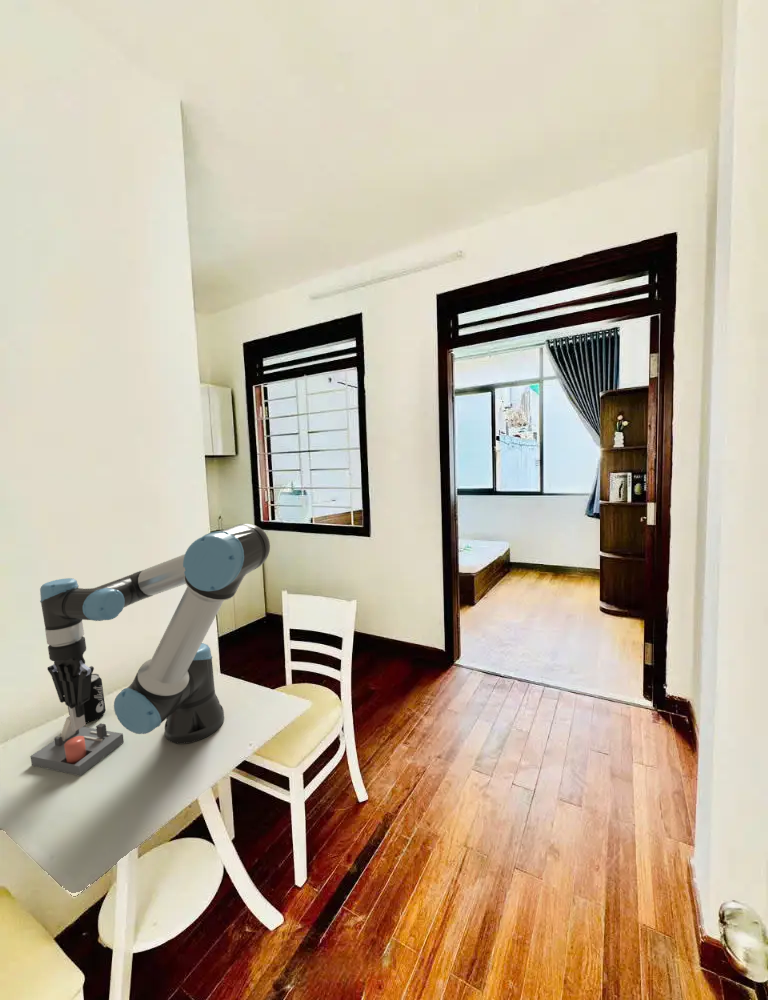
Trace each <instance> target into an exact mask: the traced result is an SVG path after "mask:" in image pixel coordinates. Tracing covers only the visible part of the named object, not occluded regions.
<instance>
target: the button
mask: <svg viewBox="0 0 768 1000" xmlns="http://www.w3.org/2000/svg"><path fill="white" fill-rule="evenodd" d="M64 747H65V754H66V761H67V763H69V764H76V763H77V762H79V761H80V760H81V759H83V758H84V757H85V756H87V754H86V746H85V739H84V736H77V737H74V738H71V739H69V740H68V741H67V742H66V743H65V744H64Z"/></svg>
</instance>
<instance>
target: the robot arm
mask: <svg viewBox="0 0 768 1000" xmlns="http://www.w3.org/2000/svg"><path fill="white" fill-rule="evenodd" d="M270 542H271V541H270V539H269V537H268V534H267V533H266V532H265V531H264V530H263V529H262V528H261V527H259V526H257V525H255V524H251V523H240V524H236V525H234V526H229V527H227V528H224V529H221V530H218V531H217V530H215V531H211V532H208V533H206V534H204V535H203V536H201V537H199V538H197V539H195V540H194V541H193V542H192V543H191V544H190V545H189V546H188V547H187V549H186V551H185V553H184V554H182V555H179V556H176V557H174V558H171V559H168V560H166V561H163V562H161V563H159V564H155V565H153V566H149V567H148V568H145V569H142V570H139V571H136V572H132V574H129V575H127V576H123V577H121V578H118V579H116V580H113V581H110V582H108V583H104V584H102V585H99V586H97V587H92V588H81V587H79V584H78V581H77V580H76V579H74V578H71V577H67V578H66V577H65V578H59V579H55V580H51V581H47V582H45V583H44V584H42V585H41V586H40V588H39V591H40V593H39V595H40V600H39V602H40V604H41V611H42V616H43V622H44V627H45V628H44V630H45V631H44V632H45V639H46V644H47V645H48V646H47V650H48V658H49V660H50V661H52V662H53V664H52V665H50V666H48V667H47V671H48V673H49V674H50V676H51V679H52V682H53V684H54V687H55V691H56V694H57V697H58V700H59V702H60V703H64V704H65V705H66V706H67V709H68V715H69V716H70V720H71V726H72V731H77V730H78V729H80V728H81V727H85V726H86V724H87V723H85V716H84V714H85V711H84V702H86V701H88V700H89V699H90V691H91V676H92V674H94V670H95V668H94V666H92V665H91V666H88V665H86V660H85V658H84V654H85V652H86V651H87V644H86V637H85V636H84V635H85V630H84V624H83V620H84V621H93V622H94V621H95V622H102V621H111V620H114V619H115V618H118V616H119V615H120V614H121V612H122V611H123V610H124V608H126V607H128V606H130V605H133V604H135V603H137V602H139V601H142V600H145V599H149V598H151V597H153V596H155V595H158V594H161V593H164V592H167V591H169V590H172V589H175V588H178V587H180V586H184V585H185V586H186V589H185V590H184V592H183V595H182V597H181V598H180V601H179V602H178V605H177V607H176V609H175V611H174V613H173V615H172V617H171V618H170V621H169V622H168V625H167V627H166V629H165V631H164V633H163V635H162V637H161V639H160V641H159V643H158V645H157V646H156V649H155V651H154V654H153V656H152V658H150V659H148V660H146V661H145V662H143V663H142V664H141V665H140V667H139V668H138V671H137V672H136V675H135V676H134V679H133V680H132V683H130V684H129V686H128V687H125V688H123V689H121V691H120V692H119V693H118V694H117V695H116V697H115V698H114V701H113V710H114V714H115V716H116V717H117V720H118V721H119V723H120V724H121V725H122V726H123V727H124V728H125V729H126V730H128V731H129V732H131V733H134V734H135V735H137V734H138V735H142V734H143V735H145V734H149V733H150V732H153V731H154V730H155V729H156V728H158V727H160V726H161V724H162V723H163V722H164V721H165V723H164V735H165V738H166V740H167V741H168V742H170V743H173V744H177V745H178V744H179V745H180V744H181V745H182V744H183V745H185V744H190V743H193V742H197V741H201V740H203V739H205V738H207V737H209V736H211V735H213V734H214V733H215V732H216V731H217V730H219V728H221V727H222V725H223V724H224V722H225V712H224V708H223V706H222V704H221V703H220V700H219V697H218V696H217V694H216V689H215V688H216V687H215V681H214V680H215V678H214V665H213V656H212V650H211V647H210V646H209V645H208V644H206V643H204V642H203V641H204V640H205V638H206V636H207V633H208V632H209V630H210V628H211V626H212V624H213V623H214V620H215V619H216V616H217V614H218V612H219V611H220V609H221V607H222V605H223V603H224V601H227V600H230V599H232V598H233V597H234V596H235V594H236V593H237V592H238V591H237V590H238V589H239V587H240V586H241V583H242V582H243V580H244V578H245V576H247V574H249V573H251V572H252V571H255V570H256V569H258V568H259V567H261V566H262V565H263V564H264V563H265V562H266V561H267V559H268V557H269V555H270V554H269V553H270V552H271V551H270V550H271V545H270Z"/></svg>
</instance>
